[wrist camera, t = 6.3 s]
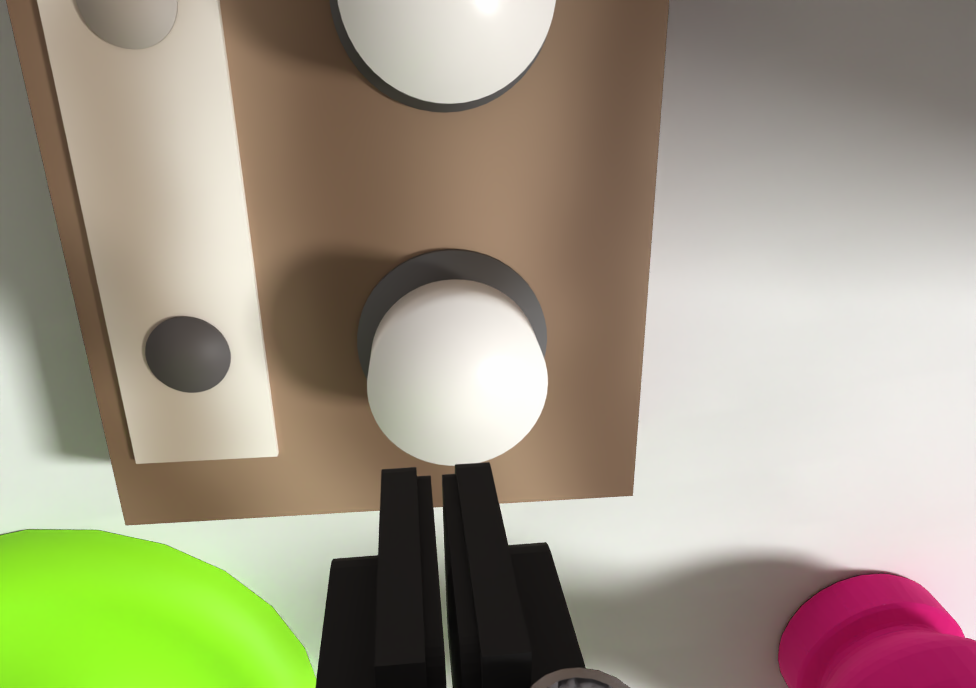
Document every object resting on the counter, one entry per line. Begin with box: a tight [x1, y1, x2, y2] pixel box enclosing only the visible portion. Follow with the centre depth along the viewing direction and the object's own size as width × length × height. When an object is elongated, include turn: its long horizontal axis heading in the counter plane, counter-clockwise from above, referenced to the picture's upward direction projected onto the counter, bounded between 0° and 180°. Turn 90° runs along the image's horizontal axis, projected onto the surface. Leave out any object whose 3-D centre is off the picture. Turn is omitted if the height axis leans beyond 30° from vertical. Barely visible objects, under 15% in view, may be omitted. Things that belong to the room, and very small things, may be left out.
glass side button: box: [367, 279, 548, 466], centre depth 17 cm, size 4×4×2 cm
